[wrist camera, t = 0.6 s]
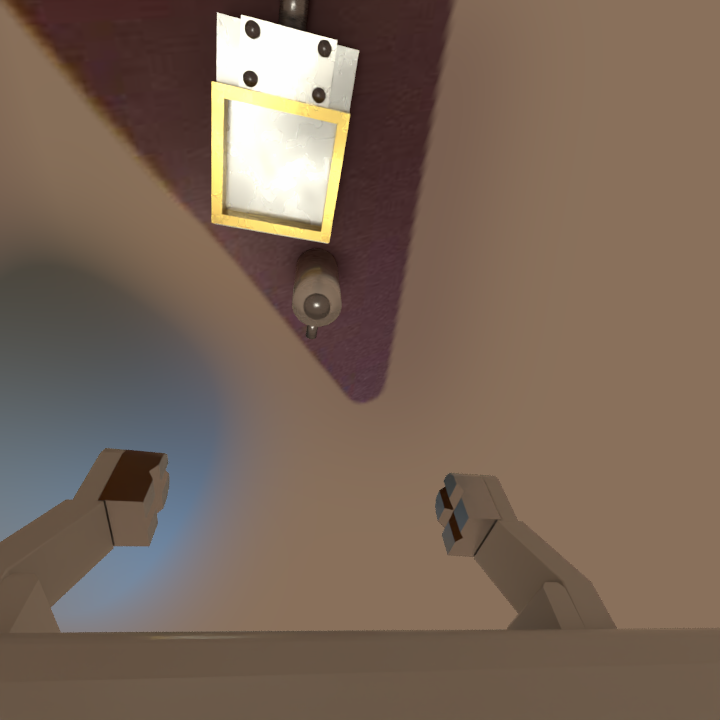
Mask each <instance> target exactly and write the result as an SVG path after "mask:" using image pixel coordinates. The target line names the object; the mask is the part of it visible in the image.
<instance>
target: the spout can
mask: <svg viewBox="0 0 720 720" xmlns="http://www.w3.org/2000/svg"><path fill="white" fill-rule="evenodd" d="M292 308H293V311H294V314H295V315H296V317H297V318H298V319H299V320H300V321H301V322H303V323H305V324H307V331H306V337H307V338H309V339H315V338H316V335H317V329H318V327H320V326H325V325H328V324H330V323H331V322H333V321H334V320H335V319H336V318H337V317H338V315H339V314H340V311H341V294H340V285H339V275H338V266H337V262H336V260H335V258H334V257H333V255H332V254H330V253H329V252H328V251H326V250H323V249H318V248H315V249H310V250H307V251H305V252H304V253H303V254H302V255H301V256H300V257H299V259H298V261H297V264H296V273H295V282H294V290H293V299H292Z"/></svg>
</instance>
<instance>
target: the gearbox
mask: <svg viewBox="0 0 720 720" xmlns="http://www.w3.org/2000/svg"><path fill="white" fill-rule="evenodd" d="M308 5H309V0H280V10H279V23H278V24H274V23H271V22H267V21H263V20H259V19H256V18H252V17H248V16H244V15H241V19H239V18H235V17H231V16H228V15H224V14H220V13H217V81H212V223H216V224H218V225H224V226H229V227H235V228H241V229H247V230H252V231H258V232H264V233H270V234H276V235H281V236H287V237H293V238H299V239H304V240H310V241H316V242H322V243H327V244H328V243H329V241H330V235H331V229H332V222H333V216H334V210H335V204H336V198H337V192H338V186H339V180H340V174H341V168H342V162H343V156H344V150H345V144H346V138H347V132H348V126H349V120H350V113H349V110H350V104H351V97H352V91H353V85H354V79H355V73H356V67H357V61H358V55H359V50H355V49H352V48H348V47H344V46H340V45H337V41H338V40H334V39H330V38H326V37H323V36H319V35H315V34H312V33H308V32H306V24H307V14H308Z"/></svg>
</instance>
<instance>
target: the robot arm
mask: <svg viewBox="0 0 720 720" xmlns="http://www.w3.org/2000/svg"><path fill="white" fill-rule="evenodd" d="M167 464H168V458H167V454H165V453H155V452H144V451H134V450H120V449H110V448H105V449H104V450H103V451H102V452H101V453H100V454H99V456H98V458H97V459H96V461H95V463H94V464H93V466H92V468H91V470H90V471H89V473H88V475H87V476H86V478H85V480H84V482H83V483H82V485H81V486H80V488H79V490H78V491H77V493H76V495H75V497H74V498H73V500H65V501H63V502H62V503H60V504H58V505H57V506H55V507H54V508H52V509H51V510H49V511H48V512H46V513H45V514H43V515H41V516H40V517H39V518H37V519H35V520H34V521H32V522H31V523H29V524H28V525H26V526H24V527H23V528H21V529H20V530H18V531H17V532H15V533H14V534H12V535H11V536H9V537H7V538H6V539H4V540H3V541H1V542H0V720H720V628H672V629H671V628H670V629H668V628H667V629H666V628H664V629H663V628H660V629H617V627H616V626H615V624H614V622H613V621H612V619H611V617H610V615H609V613H608V611H607V609H606V608H605V606H604V604H603V602H602V600H601V598H600V597H599V595H598V593H597V591H596V589H595V588H594V586H593V584H592V583H591V581H590V580H588V579H587V578H586V577H585V576H584V575H583V574H582V573H580V572H579V571H578V570H577V569H576V568H575V567H573V565H571V564H570V563H569V562H568V561H567V560H566V559H564V558H563V557H562V556H561V555H560V554H559V553H558V552H556V551H555V550H554V549H553V548H552V547H551V546H550V545H549V544H548V543H546V542H545V541H544V540H543V539H542V538H541V537H540V536H538V535H537V534H536V533H535V532H534V531H533V530H532V529H530V528H529V527H528V526H527V525H526V524H525V523H524V522H521V521H518V520H517V517H516V516H515V514H514V511H513V509H512V507H511V505H510V503H509V501H508V499H507V496H506V494H505V492H504V490H503V488H502V486H501V484H500V482H499V480H498V478H497V477H496V476H489V475H477V474H459V473H449V474H448V475H446V477H445V479H444V483H445V487H444V488H442V489H441V490H439V492H438V495H437V497H436V504H435V508H436V515H437V519H438V522H439V523H440V524H441V525H442V526H443V527H444V528H445V529H444V531H443V533H442V537H443V541H444V544H445V547H446V551H447V554H448V555H453V556H469V557H474V559H475V560H476V562H477V563H478V564H479V565H480V566H481V568H482V569H483V570H484V572H485V573H486V574H487V575H488V577H489V578H490V579H491V580H492V581H493V583H494V584H495V585H496V586H497V588H498V589H499V590H500V591H501V593H502V594H503V595H504V596H505V598H506V599H507V600H508V601H509V603H510V604H511V605H512V606H513V608H514V609H515V610H516V611H517V613H518V615H517V616H516V617H515V619H514V620H513V621H512V622H511V623H510V625H509V626H508V628H507V630H386V631H385V630H376V631H375V630H372V631H368V630H366V631H229V632H227V631H226V632H223V631H222V632H85V633H84V632H83V633H82V632H79V633H60V630H59V627H58V625H57V623H56V620H55V618H54V615H53V613H52V610H51V606H53V605H54V604H55V603H56V602H57V601H58V600H59V599H60V598H61V597H62V596H63V595H64V594H65V593H66V592H68V591H69V590H70V589H71V588H72V587H73V586H74V585H75V584H76V583H77V582H78V581H79V580H80V579H81V578H82V577H84V576H85V575H86V574H87V573H88V572H89V571H90V570H91V569H92V568H93V567H94V566H95V565H96V564H97V563H98V562H99V561H101V559H103V558H104V557H105V556H106V555H107V554H108V553H109V552H110V551H111V550H112V549H113V546H150V543H151V540H152V538H153V535H154V532H155V529H156V527H157V524H158V521H157V513H158V512H159V511H160V510H162V509H163V507H164V504H165V502H166V498H167V494H168V489H169V473H168V472H167V471H166V467H167Z"/></svg>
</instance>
